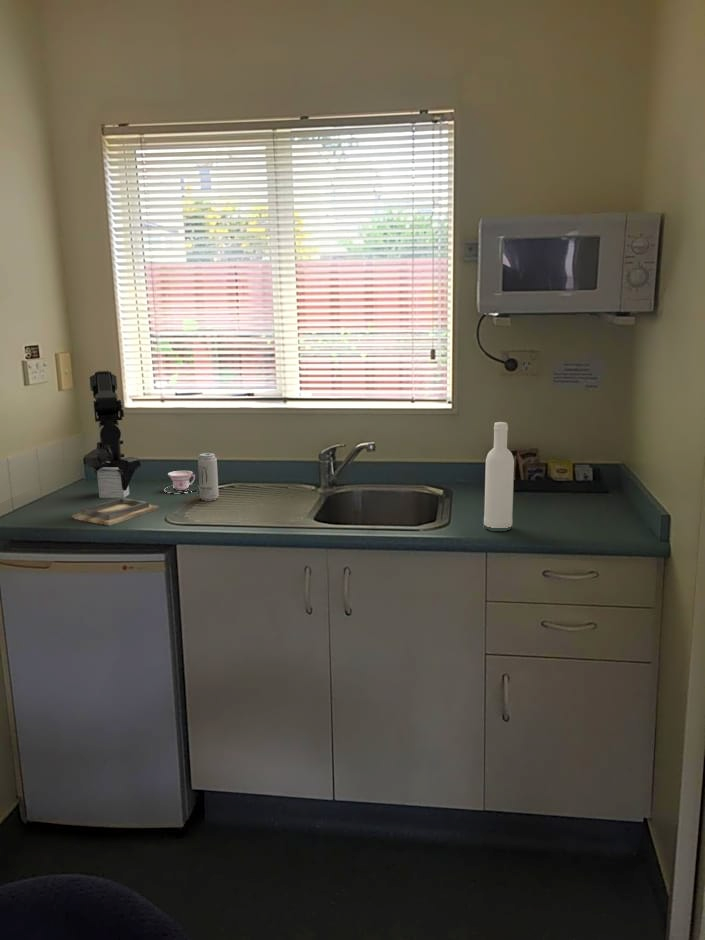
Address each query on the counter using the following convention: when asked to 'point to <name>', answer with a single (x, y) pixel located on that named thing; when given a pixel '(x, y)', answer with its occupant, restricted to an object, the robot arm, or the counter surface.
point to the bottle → (499, 481)
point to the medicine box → (110, 483)
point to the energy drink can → (208, 476)
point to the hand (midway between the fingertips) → (114, 488)
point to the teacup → (180, 480)
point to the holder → (115, 511)
